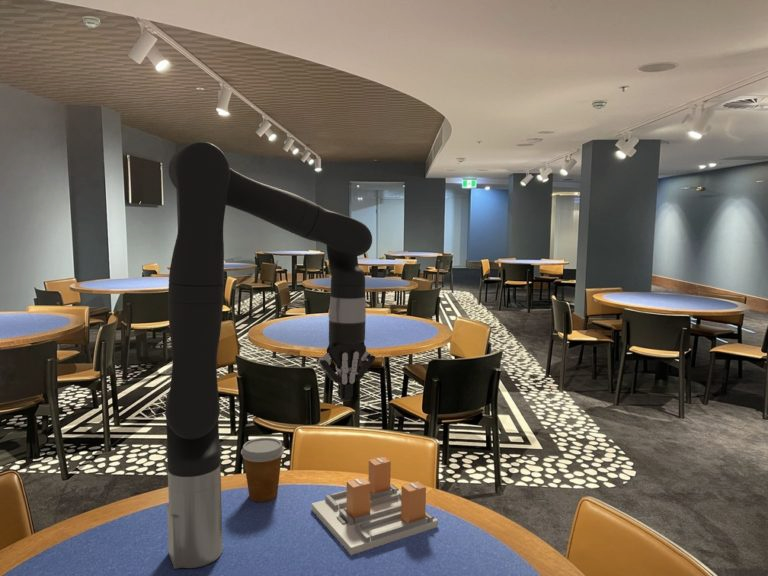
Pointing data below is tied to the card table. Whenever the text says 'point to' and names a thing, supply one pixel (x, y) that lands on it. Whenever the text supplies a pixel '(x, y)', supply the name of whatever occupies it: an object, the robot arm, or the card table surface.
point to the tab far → (379, 474)
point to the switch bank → (369, 520)
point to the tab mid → (358, 497)
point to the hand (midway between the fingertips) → (345, 400)
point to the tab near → (413, 501)
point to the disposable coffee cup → (262, 467)
